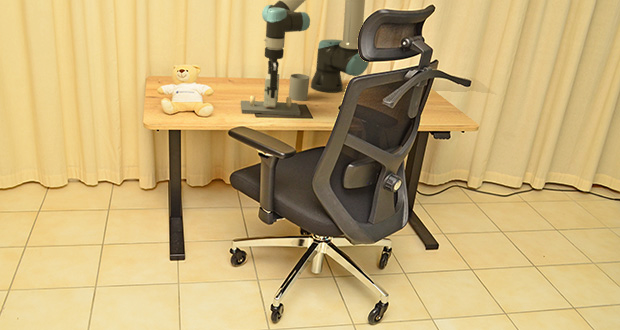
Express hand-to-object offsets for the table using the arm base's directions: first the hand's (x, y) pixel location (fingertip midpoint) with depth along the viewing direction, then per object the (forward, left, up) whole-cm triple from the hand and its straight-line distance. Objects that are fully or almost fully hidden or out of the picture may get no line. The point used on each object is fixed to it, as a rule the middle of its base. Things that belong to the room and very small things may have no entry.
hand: (270, 101), depth 250 cm
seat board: (0, 0, -4) cm, 4 cm away
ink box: (0, 0, -1) cm, 1 cm away
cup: (-14, -18, -4) cm, 23 cm away
